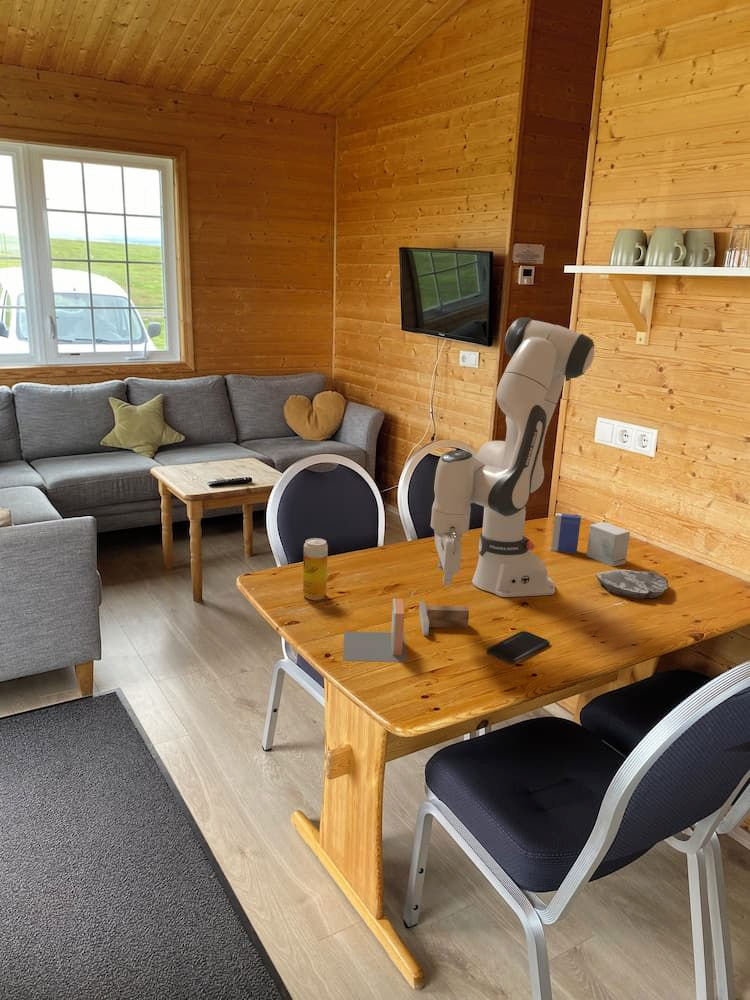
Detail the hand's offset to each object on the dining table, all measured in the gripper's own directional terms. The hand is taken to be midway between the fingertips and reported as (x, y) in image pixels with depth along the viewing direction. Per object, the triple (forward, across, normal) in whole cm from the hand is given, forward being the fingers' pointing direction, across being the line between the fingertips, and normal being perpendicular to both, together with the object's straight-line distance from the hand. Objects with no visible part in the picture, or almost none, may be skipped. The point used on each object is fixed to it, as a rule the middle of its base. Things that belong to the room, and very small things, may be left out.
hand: (444, 576), depth 180 cm
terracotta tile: (+13, -12, +11) cm, 20 cm away
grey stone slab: (+12, +27, -57) cm, 65 cm away
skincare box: (+11, +50, -56) cm, 76 cm away
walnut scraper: (+13, 0, -1) cm, 13 cm away
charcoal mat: (+14, -11, +16) cm, 24 cm away
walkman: (+12, +57, -46) cm, 74 cm away
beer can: (+14, +17, +31) cm, 38 cm away
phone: (+13, -10, -17) cm, 24 cm away
